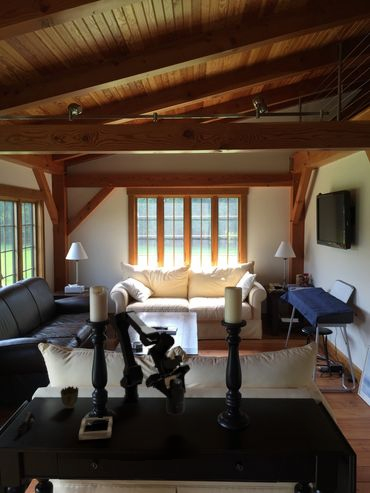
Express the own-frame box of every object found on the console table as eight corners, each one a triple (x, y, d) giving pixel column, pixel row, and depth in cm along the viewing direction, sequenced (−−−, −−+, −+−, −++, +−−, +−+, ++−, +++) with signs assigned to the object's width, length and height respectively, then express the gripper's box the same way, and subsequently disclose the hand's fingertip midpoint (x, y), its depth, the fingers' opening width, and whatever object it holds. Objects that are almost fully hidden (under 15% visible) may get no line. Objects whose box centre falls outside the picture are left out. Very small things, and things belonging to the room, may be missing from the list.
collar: (83, 423, 154) (82, 418, 154) (112, 421, 156) (112, 416, 156) (78, 440, 143) (78, 434, 143) (110, 437, 144) (110, 431, 144)
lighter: (26, 440, 148) (21, 432, 145) (21, 439, 148) (15, 431, 145) (36, 418, 155) (32, 410, 151) (31, 417, 155) (26, 409, 152)
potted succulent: (57, 410, 166) (56, 391, 165) (68, 402, 172) (67, 384, 172) (71, 413, 163) (71, 394, 162) (82, 405, 170) (82, 387, 169)
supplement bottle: (182, 416, 146) (182, 385, 145) (164, 414, 148) (164, 383, 147) (186, 407, 153) (186, 377, 152) (169, 405, 155) (169, 376, 154)
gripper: (149, 354, 146) (167, 393, 138) (187, 344, 158) (206, 379, 150) (137, 368, 152) (154, 406, 145) (175, 357, 164) (192, 392, 157)
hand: (177, 395), depth 149 cm, fingers closed on supplement bottle, 7 cm apart
